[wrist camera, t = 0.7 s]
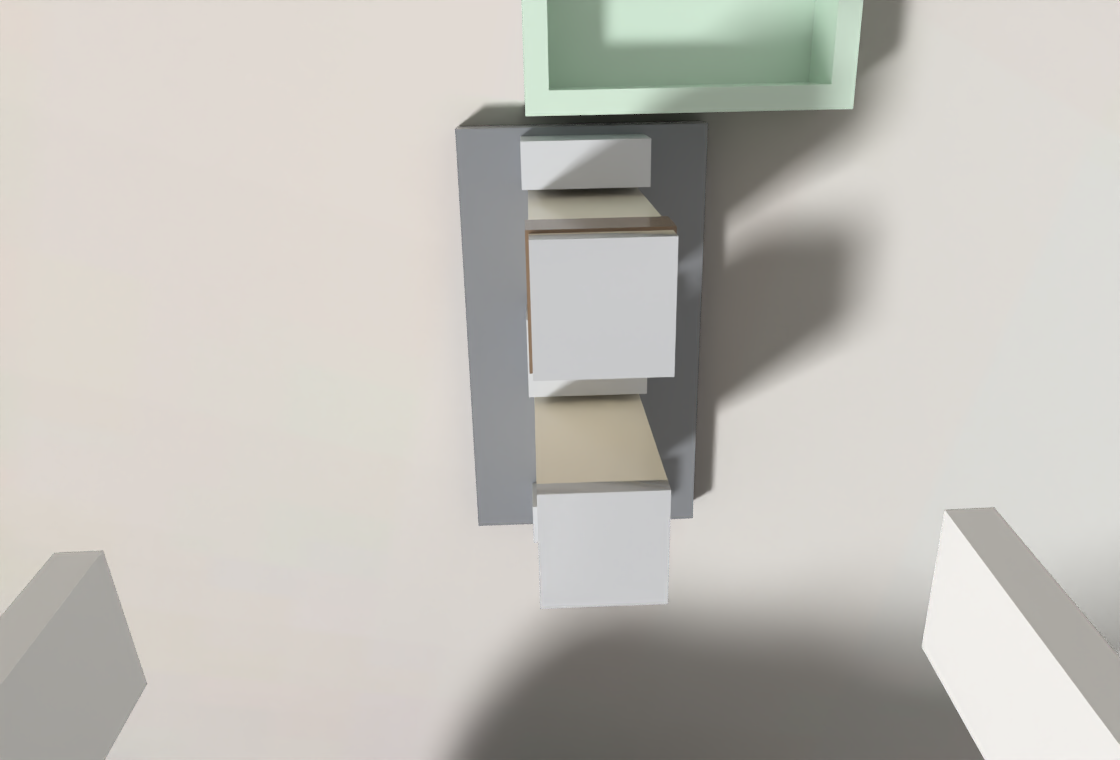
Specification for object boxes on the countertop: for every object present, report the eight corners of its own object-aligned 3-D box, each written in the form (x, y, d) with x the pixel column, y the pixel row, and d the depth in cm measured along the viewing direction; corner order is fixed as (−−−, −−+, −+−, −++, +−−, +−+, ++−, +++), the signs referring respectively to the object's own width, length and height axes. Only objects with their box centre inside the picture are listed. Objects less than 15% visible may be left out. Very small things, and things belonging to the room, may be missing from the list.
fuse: (634, 473, 36) (667, 604, 27) (536, 476, 36) (540, 608, 27) (635, 382, 34) (671, 490, 26) (534, 385, 34) (536, 494, 26)
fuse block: (687, 504, 38) (701, 543, 35) (480, 511, 37) (476, 551, 34) (701, 120, 32) (719, 127, 29) (457, 126, 32) (450, 133, 29)
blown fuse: (638, 296, 33) (677, 380, 25) (528, 299, 33) (529, 384, 24) (640, 184, 32) (682, 232, 23) (525, 187, 32) (524, 236, 23)
